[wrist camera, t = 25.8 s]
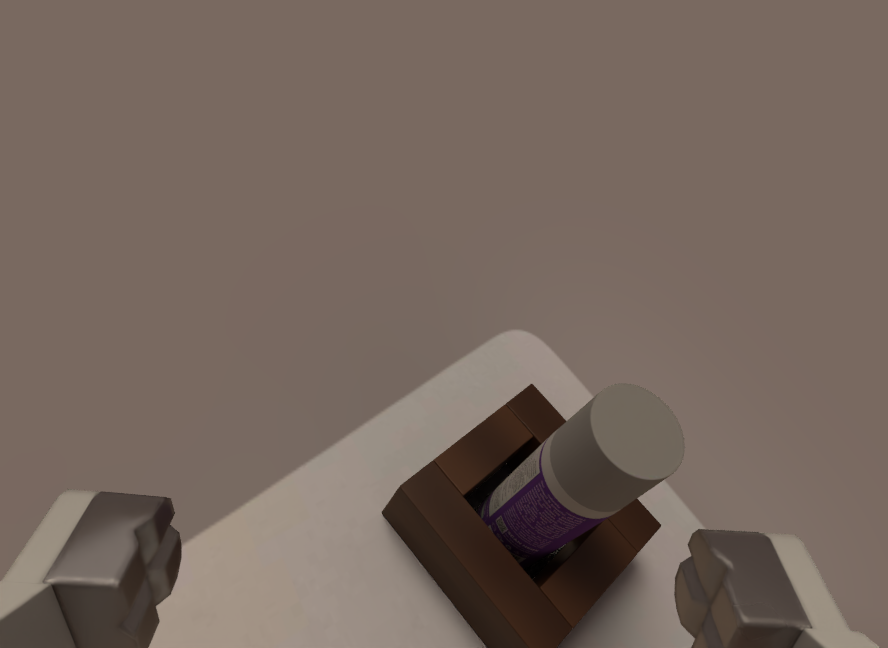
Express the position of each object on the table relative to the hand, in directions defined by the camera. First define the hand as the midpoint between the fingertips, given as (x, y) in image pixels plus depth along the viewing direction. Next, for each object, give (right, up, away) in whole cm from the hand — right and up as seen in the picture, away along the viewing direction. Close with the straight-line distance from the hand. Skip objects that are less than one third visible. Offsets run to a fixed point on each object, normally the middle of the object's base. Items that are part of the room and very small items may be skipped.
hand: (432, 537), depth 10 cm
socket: (+4, -9, +30) cm, 31 cm away
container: (+4, -9, +30) cm, 32 cm away
